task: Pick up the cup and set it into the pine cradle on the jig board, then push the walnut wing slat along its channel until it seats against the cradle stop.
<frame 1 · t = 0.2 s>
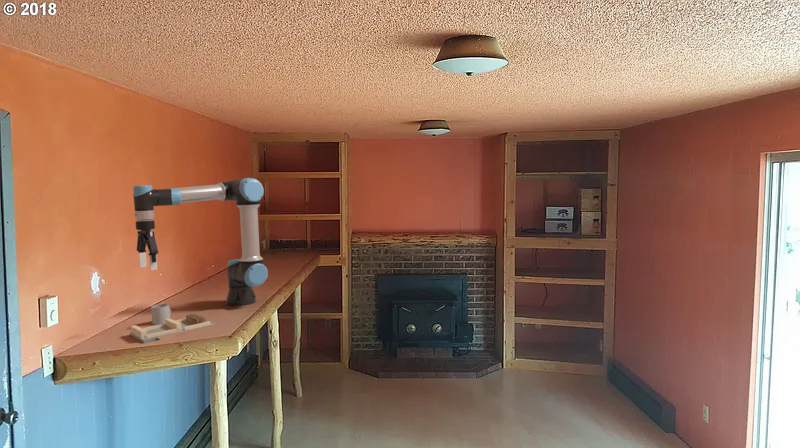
hand: (148, 268, 232), 26 cm above the counter, fingers open, 13 cm apart
jig: (173, 330, 227), on the counter
wing slat: (196, 323, 233), point 1 cm above the counter, touching jig
cup: (163, 324, 238), on the counter
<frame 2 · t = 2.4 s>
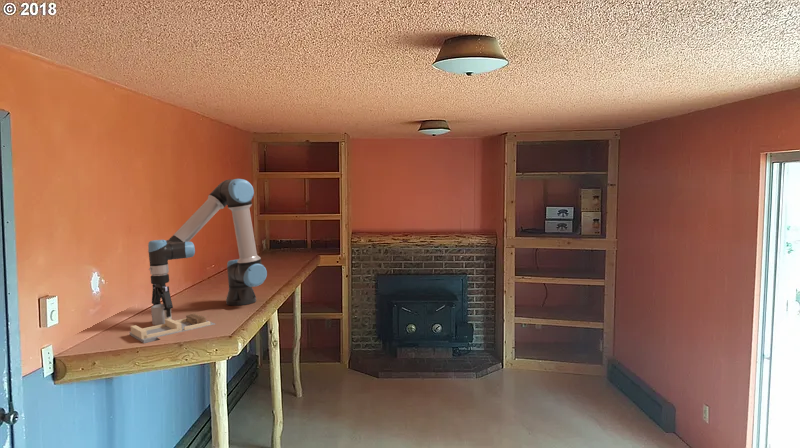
hand: (163, 321, 238), 1 cm above the counter, fingers open, 12 cm apart
nothing on the counter moved.
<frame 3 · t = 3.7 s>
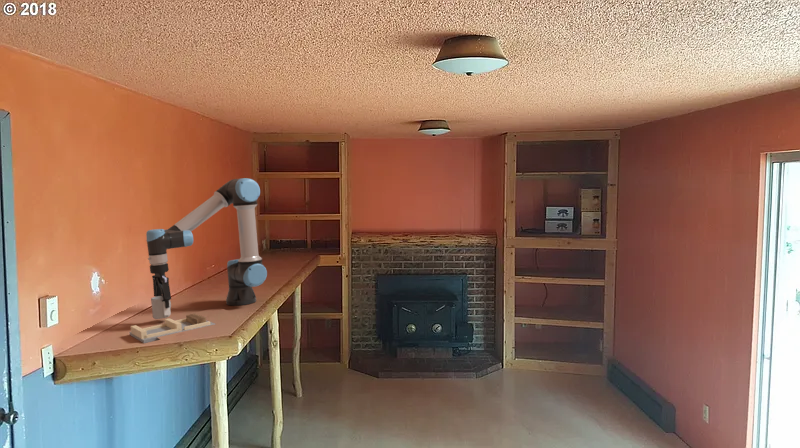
hand: (164, 313, 238), 5 cm above the counter, fingers closed on cup, 7 cm apart
cup: (163, 316, 239), point 3 cm above the counter, touching gripper
everything else where it was.
when the fingers open (3 cm above the counter, at t = 8.4 s): cup stays where it is, resting on jig.
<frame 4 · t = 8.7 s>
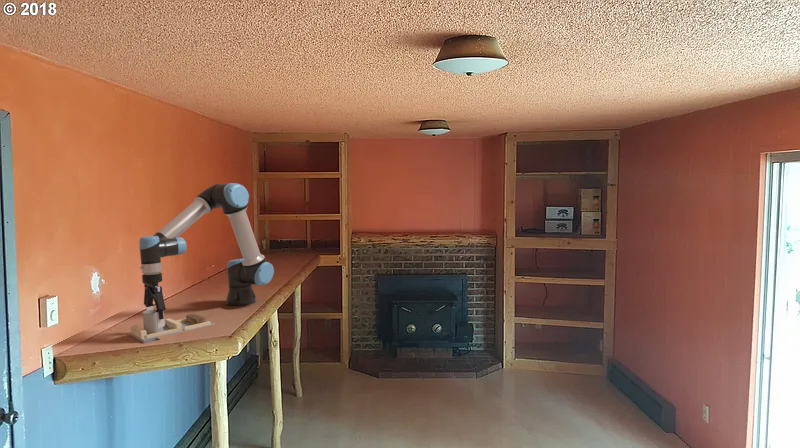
hand: (156, 324, 221), 4 cm above the counter, fingers open, 11 cm apart
cup: (156, 331, 222), point 1 cm above the counter, touching jig
everything else where it was.
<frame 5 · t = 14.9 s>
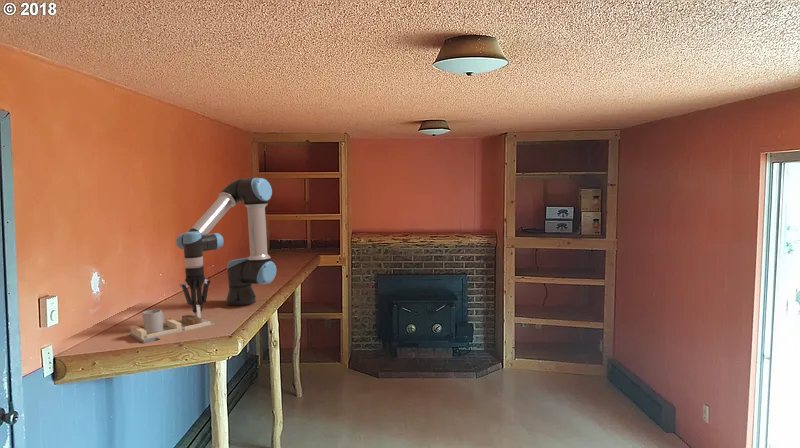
hand: (198, 319, 234), 3 cm above the counter, fingers closed
wing slat: (192, 323, 232), point 1 cm above the counter
everything else where it was.
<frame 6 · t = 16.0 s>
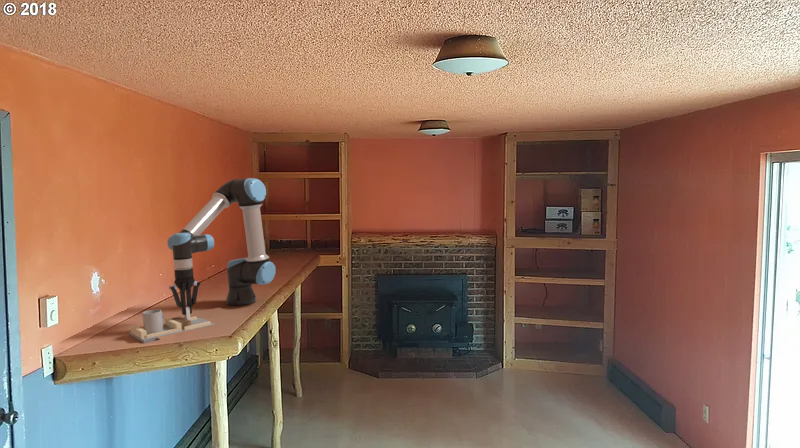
hand: (187, 321, 231), 3 cm above the counter, fingers closed
wing slat: (181, 326, 229), point 1 cm above the counter, touching gripper, jig
everything else where it was.
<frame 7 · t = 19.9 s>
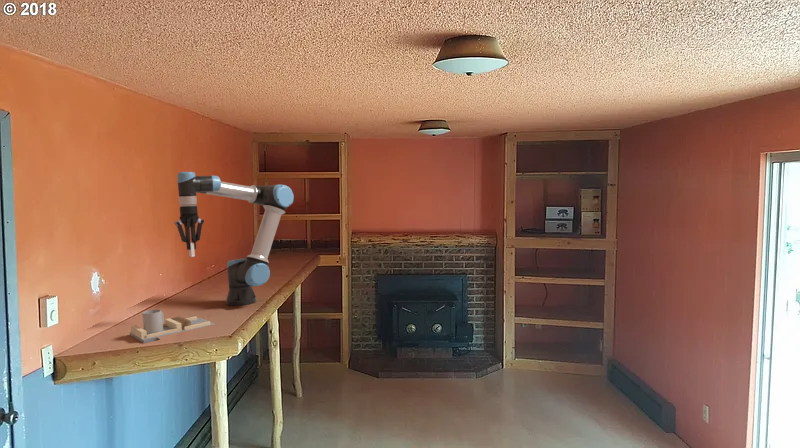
hand: (192, 256, 243), 29 cm above the counter, fingers closed
wing slat: (181, 326, 229), point 1 cm above the counter, touching jig
everything else where it was.
at the end: cup 0.6 cm from the target spot on the jig, point 1.0 cm above the jig's base; cup tilted 0°; wing slat 0.9 cm from the target spot on the jig, point 1.2 cm above the jig's base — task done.
